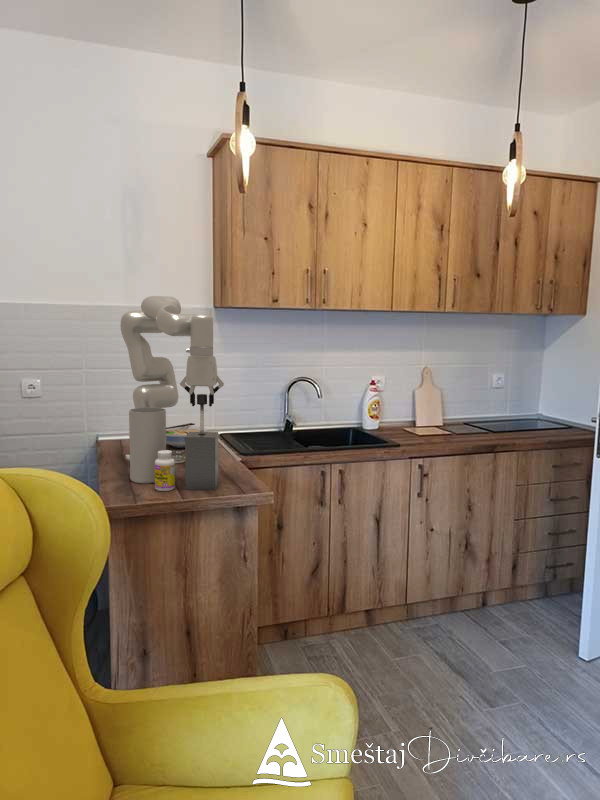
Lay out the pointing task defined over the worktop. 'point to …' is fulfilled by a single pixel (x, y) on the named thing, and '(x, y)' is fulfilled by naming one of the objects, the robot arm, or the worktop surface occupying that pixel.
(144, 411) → the cylinder vase
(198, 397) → the plunger
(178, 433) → the ramen bowl
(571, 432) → the worktop surface
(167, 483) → the supplement bottle
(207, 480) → the tall grey rectangular prism
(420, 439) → the worktop surface
